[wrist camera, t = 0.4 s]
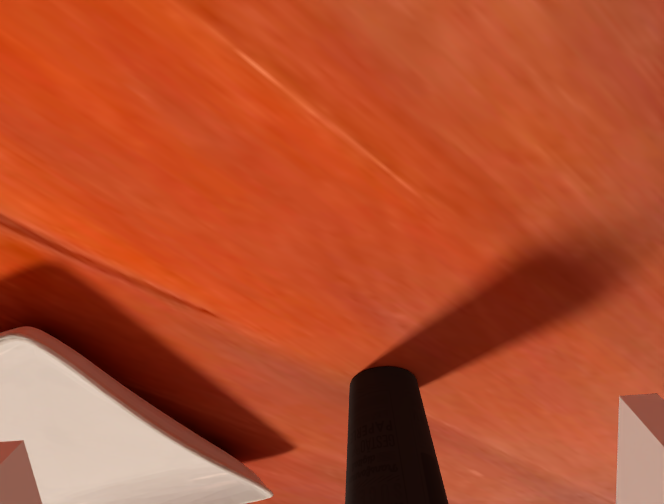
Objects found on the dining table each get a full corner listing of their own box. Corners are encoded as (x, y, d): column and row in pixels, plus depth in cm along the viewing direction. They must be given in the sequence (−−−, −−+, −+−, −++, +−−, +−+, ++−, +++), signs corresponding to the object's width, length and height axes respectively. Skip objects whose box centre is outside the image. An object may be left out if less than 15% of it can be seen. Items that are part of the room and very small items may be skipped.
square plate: (39, 279, 31) (13, 337, 28) (280, 457, 49) (278, 502, 47) (-251, 396, 39) (-292, 450, 36) (49, 511, 57) (37, 553, 55)
